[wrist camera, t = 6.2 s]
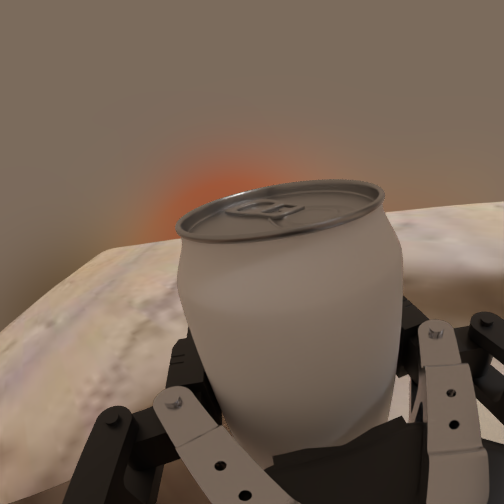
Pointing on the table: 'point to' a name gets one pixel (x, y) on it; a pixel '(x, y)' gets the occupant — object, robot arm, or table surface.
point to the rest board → (47, 496)
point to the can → (295, 311)
